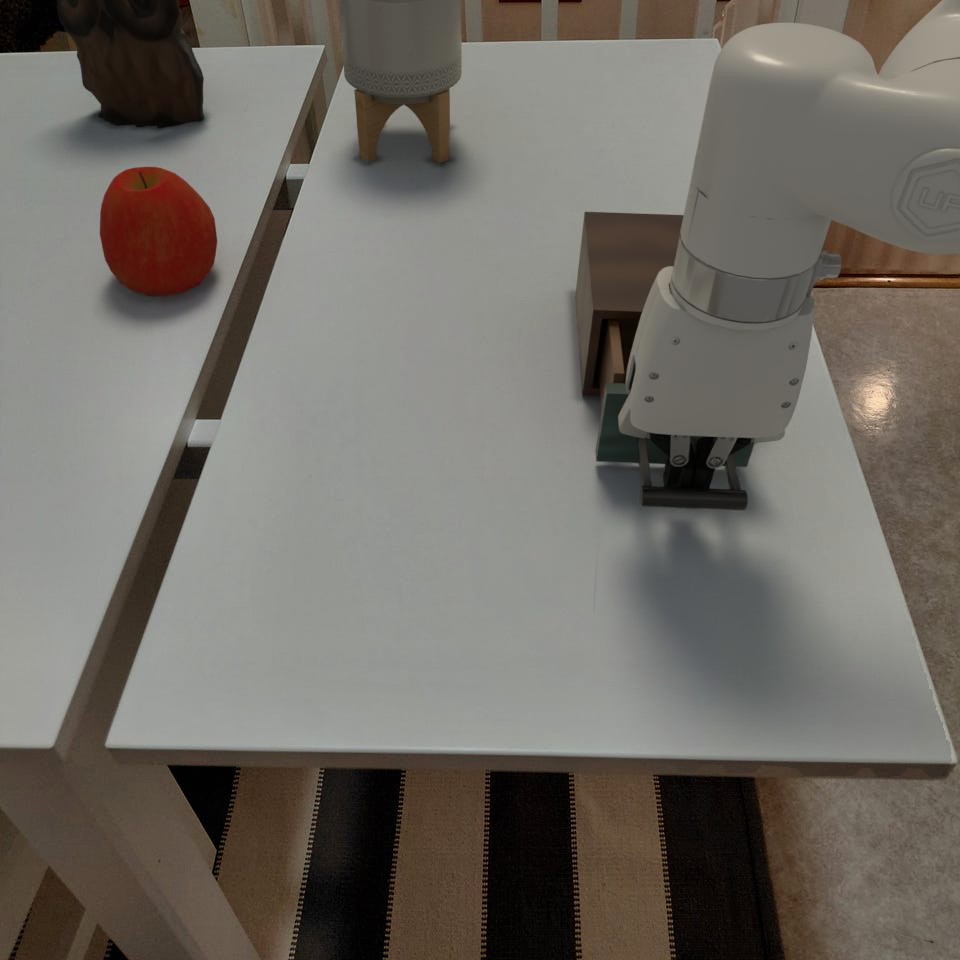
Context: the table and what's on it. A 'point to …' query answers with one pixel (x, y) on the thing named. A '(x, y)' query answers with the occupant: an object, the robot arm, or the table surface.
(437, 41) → the planter
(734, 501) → the drawer
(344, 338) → the table surface
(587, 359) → the cabinet
